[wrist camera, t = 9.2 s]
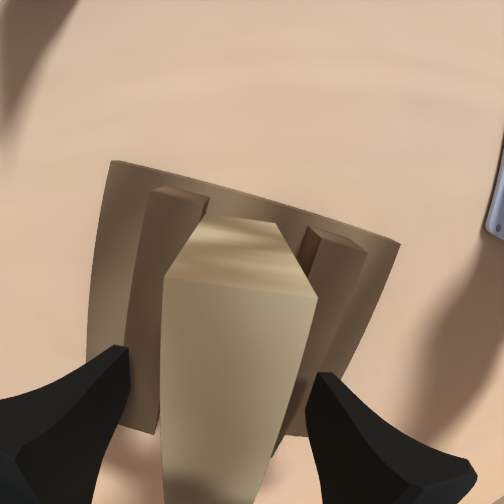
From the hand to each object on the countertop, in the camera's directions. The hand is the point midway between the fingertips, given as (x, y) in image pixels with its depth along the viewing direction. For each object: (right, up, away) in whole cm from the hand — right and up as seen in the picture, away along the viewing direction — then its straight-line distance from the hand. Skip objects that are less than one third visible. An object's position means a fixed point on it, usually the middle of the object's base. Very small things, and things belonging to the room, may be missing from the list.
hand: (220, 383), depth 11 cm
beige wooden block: (0, +2, +4) cm, 4 cm away
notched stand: (0, +1, +5) cm, 5 cm away
